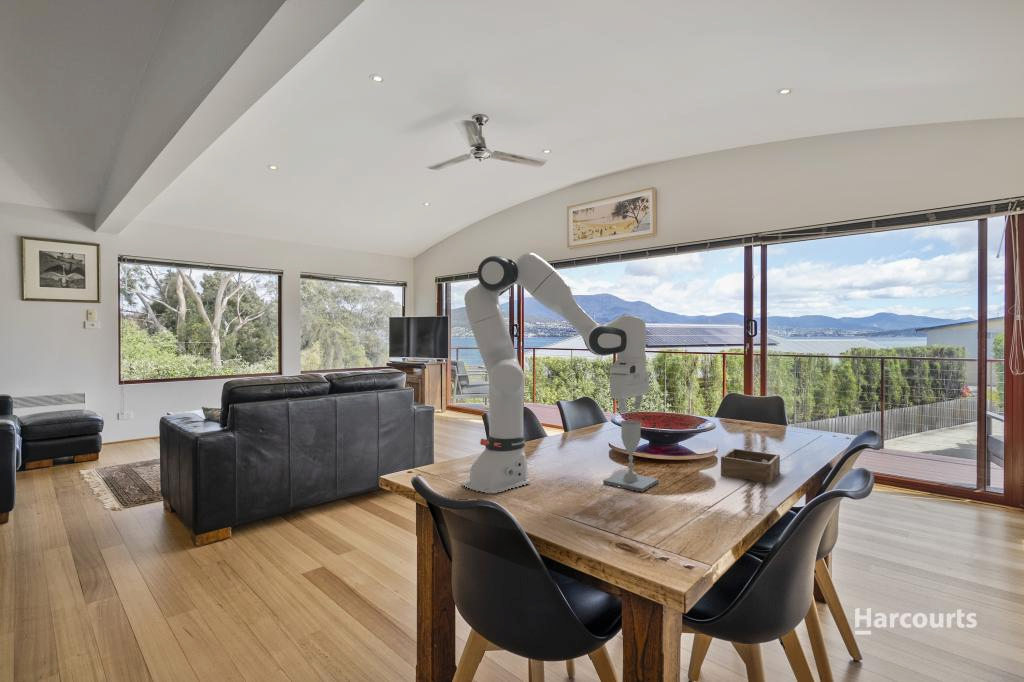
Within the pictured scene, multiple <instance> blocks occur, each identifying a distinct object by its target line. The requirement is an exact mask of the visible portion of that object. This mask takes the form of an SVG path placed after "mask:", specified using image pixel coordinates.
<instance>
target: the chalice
mask: <svg viewBox="0 0 1024 682" xmlns="http://www.w3.org/2000/svg"><path fill="white" fill-rule="evenodd" d="M619 423H620V425H621V426H620V427H621V433H620V434H621V436H620V437H621V440H622V444H623V446H624V448H625V450H626V451H627V452H628V453H629V455H628V460H629V461H628V463H627V464H628V468H629V469H628V470H627V471H625V472H626V473H625V475H624V477H623V480H624V481H628V482H637V481H639V479H638V476H637V475H638V473H637V472H636V471H634V469H633V466H634V465H635V464H634V463H633V460H634V457H633V453H635V452H636V450H637V448H638V446H639V445H640V444H639V443H640V441H641V426H642V424H643V422H642V421H640V420H634V419H633V420H632V419H631V420H630V419H629V420H628V419H627V420H620V421H619Z"/></svg>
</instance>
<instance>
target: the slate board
mask: <svg viewBox="0 0 1024 682" xmlns="http://www.w3.org/2000/svg"><path fill="white" fill-rule="evenodd" d="M625 473H626V471H621V470H620V471H619V472H617V473H615V474H613V475H610V476H608V477H607V478H604V479H603V480H602V483H604V484H603V485H606V484H609V485H608V486H611V485H614V486H613V487H615V486H620V487H624V488H628V489H633V490H637V491H642V492H641V493H644V492H645V491H644V490H646V489H647V490H649V489H650V488H649V487H651V486H652V487H654V486H655V484H656V485H657V484H659V483H660V482H659V478H655V477H650V476H647V475H642V474H637V476H638V479H639V481H637V482H628V481H624V480H623V477H624V475H625ZM653 485H654V486H653ZM652 487H651V488H652ZM624 488H623V489H624ZM648 488H649V489H648ZM628 489H627V490H628ZM633 490H632V491H633ZM647 490H646V491H647ZM637 491H636V492H637ZM643 491H644V492H643Z"/></svg>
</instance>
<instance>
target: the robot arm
mask: <svg viewBox="0 0 1024 682" xmlns="http://www.w3.org/2000/svg"><path fill="white" fill-rule="evenodd" d="M476 272H477V274H476V275H477V279H478V282H479V283H478V284H477V285H476V286H473V287H470V288H469V289H468V290H467V291H466V292H465V294H464V305H465V306H464V307H465V311H466V316H467V318H468V323H469V325H470V328H471V331H472V334H473V337H474V340H475V343H476V346H477V348H478V352H479V353H480V357H481V359H482V361H483V364H484V367H485V371H486V372H487V375H488V392H489V393H488V397H489V398H488V399H489V400H488V401H489V402H488V411H489V412H488V414H489V416H488V417H489V418H488V419H489V421H488V423H489V425H488V426H489V429H488V432H489V433H488V434H489V435H487V439H485V438H481V439H480V441H479V444H480V445H481V446H484V450H483V452H481V453H480V455H479V456H478V457H477V458H476V460H475V461H473V463H472V464H471V466H470V472H469V478H467V479H465V480H463V481H462V484H463V485H462V486H463V487H464V486H465V487H464V488H466V487H467V488H466V489H468V488H470V489H469V490H471V489H473V490H472V491H474V490H477V491H476V492H478V491H481V492H480V493H482V492H485V494H498V492H499V493H501V492H505V490H506V491H509V490H508V489H510V490H512V489H511V488H513V489H516V488H515V487H517V488H520V487H519V486H521V487H523V486H522V485H524V486H527V485H526V484H528V485H531V479H530V477H529V472H528V461H527V456H526V453H525V450H524V449H525V448H524V447H525V446H526V445H525V443H526V439H525V434H524V404H525V403H524V402H525V372H524V370H523V368H522V367H521V365H520V362H519V360H518V356H517V353H516V351H515V346H514V344H513V341H512V337H511V334H510V331H509V328H508V326H507V322H506V320H505V317H504V314H503V312H502V309H501V306H500V299H499V297H501V295H503V294H504V293H505V292H507V291H508V290H510V289H511V288H512V287H513V286H514V285H519V286H521V287H522V288H523V289H525V291H526V292H528V293H529V294H530V295H531V296H532V297H533V299H535V300H536V301H537V302H539V303H540V304H541V305H542V306H544V307H545V308H548V310H550V311H552V312H554V313H556V314H558V315H559V316H561V317H562V318H564V319H565V320H566V321H567V323H569V324H570V325H571V326H572V327H573V329H575V330H576V331H577V332H578V333H579V335H580V336H581V338H582V339H583V342H584V345H585V346H586V349H587V350H588V351H589V352H590V353H592V354H593V355H596V356H601V357H602V356H603V357H605V356H611V355H614V354H616V360H615V361H614V362H613V364H611V365H610V366H609V373H610V374H611V375H610V379H609V380H610V382H609V383H610V384H609V387H610V388H609V389H610V393H609V394H610V396H611V398H612V399H615V400H617V402H618V406H619V413H622V414H623V413H624V414H625V413H626V414H627V413H628V406H627V399H629V398H633V397H635V400H634V402H633V409H635V410H640V409H642V402H643V400H644V399H643V398H644V395H646V394H649V391H650V377H649V373H648V371H647V355H646V346H647V327H646V321H645V320H644V318H642V317H640V316H638V315H634V314H620V315H619V316H618V317H617V318H615V319H612V320H611V321H609V322H607V323H603V324H601V323H598V322H596V321H595V320H593V318H592V317H591V316H590V315H589V314H588V313H587V312H586V311H585V310H584V309H583V308H582V307H581V306H580V305H579V304H578V302H577V301H576V300H575V298H574V295H573V292H572V290H571V286H570V285H569V284H568V282H567V280H565V278H564V277H563V276H562V275H561V273H560V272H559V271H558V270H556V268H555V267H553V266H552V265H551V264H550V263H549V262H547V261H546V260H545V259H544V258H542V257H540V255H538V254H536V253H534V252H530V251H529V252H526V253H523V254H522V255H520V256H519V257H518V258H517V259H516V260H514V259H511V258H507V257H504V256H498V255H492V256H488V257H485V258H484V259H483V260H482V261H481V263H480V264H479V265H478V267H477V271H476Z"/></svg>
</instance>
